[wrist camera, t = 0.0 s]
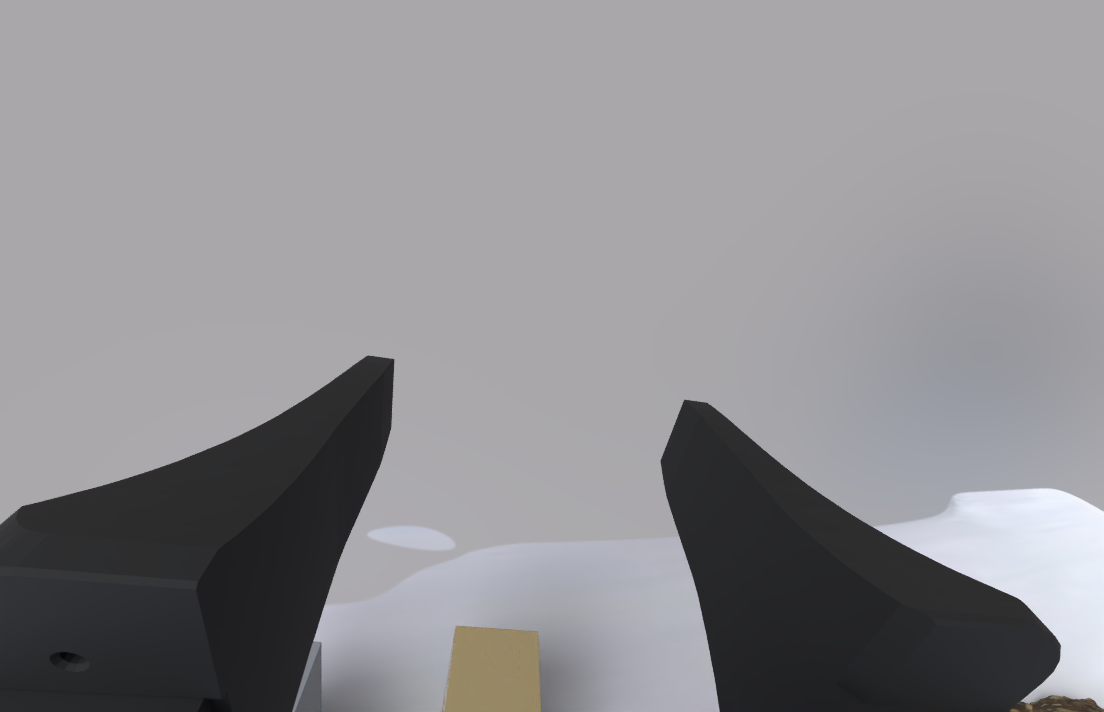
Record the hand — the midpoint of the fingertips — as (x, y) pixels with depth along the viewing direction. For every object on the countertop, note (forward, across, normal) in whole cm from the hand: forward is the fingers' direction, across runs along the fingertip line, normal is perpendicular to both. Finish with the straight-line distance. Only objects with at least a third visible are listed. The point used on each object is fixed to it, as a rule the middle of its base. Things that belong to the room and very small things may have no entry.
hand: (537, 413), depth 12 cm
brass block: (+2, -1, +22) cm, 22 cm away
